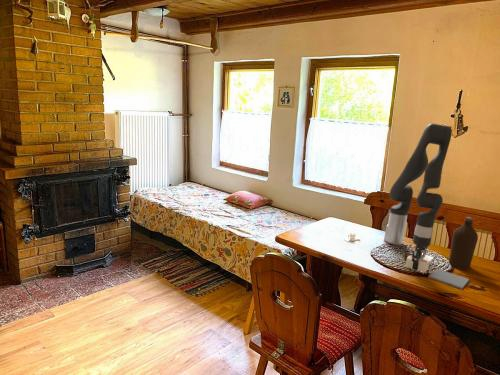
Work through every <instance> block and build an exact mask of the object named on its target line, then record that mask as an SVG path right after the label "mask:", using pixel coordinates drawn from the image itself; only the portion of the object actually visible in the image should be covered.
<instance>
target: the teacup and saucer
mask: <svg viewBox="0 0 500 375" xmlns="http://www.w3.org/2000/svg"><path fill="white" fill-rule="evenodd" d="M348 239H349V240H348ZM344 240H345V241H346V242H347V243H348V242H349V243H351V244H358V243H360V240H361V237H359V236H356V233H354V232H353V233H352V232H351V233H349V235H348V236H347V237H345V238H344Z"/></svg>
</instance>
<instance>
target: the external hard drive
mask: <svg viewBox="0 0 500 375" xmlns="http://www.w3.org/2000/svg"><path fill="white" fill-rule="evenodd" d="M423 259H424V260H427V261H430V262H432V261H433V260H434V259H435V258H434V256H430V255H427V254H425V257H423ZM430 262H429V263H430ZM430 264H431V263H430Z"/></svg>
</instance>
